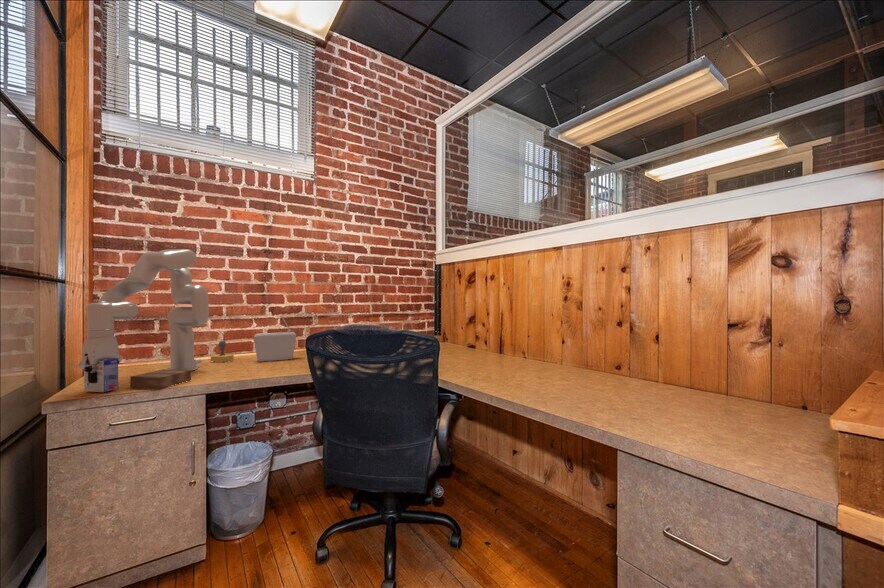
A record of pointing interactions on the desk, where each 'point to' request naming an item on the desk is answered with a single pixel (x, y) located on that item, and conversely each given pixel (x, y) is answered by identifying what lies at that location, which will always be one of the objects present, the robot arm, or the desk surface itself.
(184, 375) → the walnut box
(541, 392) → the desk surface
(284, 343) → the rounded grey case
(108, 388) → the ink cartridge box
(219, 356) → the rubber stamp
